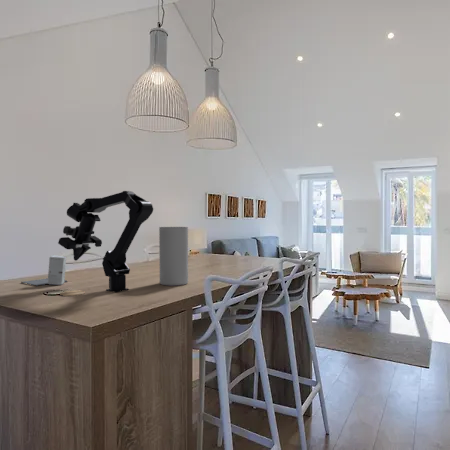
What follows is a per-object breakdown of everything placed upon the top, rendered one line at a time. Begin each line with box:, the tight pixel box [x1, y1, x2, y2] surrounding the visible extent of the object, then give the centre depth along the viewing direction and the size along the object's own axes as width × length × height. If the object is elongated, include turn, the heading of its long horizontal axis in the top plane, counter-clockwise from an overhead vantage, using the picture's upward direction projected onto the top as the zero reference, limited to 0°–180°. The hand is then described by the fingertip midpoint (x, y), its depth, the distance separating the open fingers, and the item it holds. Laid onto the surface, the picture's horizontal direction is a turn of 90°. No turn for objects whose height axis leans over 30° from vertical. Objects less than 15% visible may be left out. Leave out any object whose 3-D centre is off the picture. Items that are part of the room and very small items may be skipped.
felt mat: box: [22, 277, 68, 287], centre depth 168 cm, size 14×14×1 cm
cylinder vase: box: [158, 226, 189, 287], centre depth 164 cm, size 12×12×25 cm
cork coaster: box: [59, 290, 86, 297], centre depth 142 cm, size 9×9×1 cm
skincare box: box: [47, 254, 67, 286], centre depth 163 cm, size 6×4×12 cm
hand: (75, 260), depth 158 cm, fingers closed
